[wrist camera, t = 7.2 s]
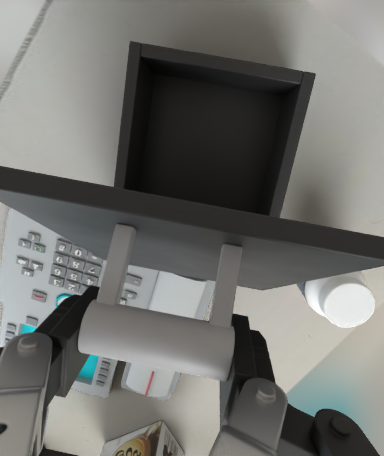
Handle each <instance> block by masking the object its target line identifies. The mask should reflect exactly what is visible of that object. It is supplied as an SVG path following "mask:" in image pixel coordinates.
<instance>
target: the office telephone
mask: <svg viewBox="0 0 384 456" xmlns="http://www.w3.org/2000/svg"><path fill="white" fill-rule="evenodd" d="M105 265H106V260H103V259H101V258H100V257H98V256H96V255H94V254H92V253H91V252H89V251H87V250H85V249H84V248H82V247H80V246H78V245H76V244H75V243H73V242H71V241H69V240H68V239H66V238H64V237H62V236H60V235H59V234H57V233H55V232H53V231H52V230H50V229H48V228H46V227H44V226H43V225H41V224H39V223H37V222H36V221H34V220H32V219H30V218H28V217H27V216H25V215H23V214H21V213H20V212H18V211H16V210H14V209H12V208H10V209H9V211H8V215H7V221H6V229H5V236H4V244H3V251H2V259H1V266H0V302H1V303H2V304H3V312H2V320H1V328H0V347H4V346H5V344H6V343H7V342H8V341H9V340H10V339H12V338H13V337H15V336H17V335H20V334H23V333H29V332H34V331H35V329H36V328H37V327H38V326H39V325H40V324H41V323H42V322H43V321H44V320H45V319H46V318H47V317H48V316H49V315H50V314H52V312H53V311H54V309H55V308H57V306H58V305H59V304H60V303H61V302H62V301H63V300H64V299H66V298H68V297H70V296H72V295H74V294H77V295H82V294H83V293H84V292H85V291H86V289H87V288H88V287H89V286H90V285H93V286H98V287H100V285H101V281H102V277H103V273H104V269H105ZM215 284H216V281H211V280H205V279H200V278H195V277H190V276H185V275H179V274H174V273H169V272H164V271H158V270H153V269H148V268H143V267H138V266H132V265H129V266H128V270H127V274H126V278H125V283H124V287H123V291H122V295H121V300H120V304H122V305H127V306H132V307H138V308H143V309H148V310H153V311H158V312H163V313H168V314H173V315H179V316H184V317H189V318H194V319H199V320H203V319H204V316H205V313H206V311H207V308H208V306H209V303H210V301H211V298H212V296H213V293H214V290H215ZM117 363H118V360H115V359H110V358H105V357H100V356H95V355H90V356H89V358H88V359H87V361H86V363H85V365H84V366H83V368H82V370H81V371H80V373H79V375H78V376H77V378H76V380H75V382H74V383H73V385H72V387H71V388H70V389H73V390H76V391H80V392H83V393H86V394H90V395H94V396H98V397H102V398H108V397H109V394H110V392H111V389H112V387H111V386H112V381H113V377H114V374H115V370H116V367H117ZM180 375H181V373H180V372H175V371H170V370H165V369H160V368H155V367H150V366H145V365H140V364H135V363H130V362H126V366H125V370H124V373H123V377H122V381H121V387H122V388H124V389H127V390H130V391H132V392H135V393H139V394H142V395H145V397H146V396H148V397H151V398H155V399H158V400H162V401H166V400H168V399H169V398H170V397H171V395H172V393H173V391H174V389H175V387H176V384H177V382H178V380H179V377H180Z"/></svg>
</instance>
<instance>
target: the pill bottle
mask: <svg viewBox="0 0 384 456" xmlns="http://www.w3.org/2000/svg"><path fill="white" fill-rule="evenodd" d="M297 286H298V287H299V289H300V291H301V292H302V294H303V296H304V297H305V299H306V301H307V302H308V304H309V305H310V306H311V308H312V309H313V310H314V311H316V312H317V313H319V314H320V315H323V316H325V317H327V319H328V320H329V321H330V322H332V323H333V324H335V325H337V326H340V327H345V328H350V327H355V326H358V325H360V324H362V323H364V322H365V321H367V320H368V319H369V318H370V316H371V315H372V313H373V311H374V308H375V298H374V296H373V293H372V292H371V291H370V289H369V288H368V287H367V283H366V280H365V278H364V276H363V274H362V273H361V272H360V271H356V272H351V273H346V274H341V275H336V276H331V277H326V278H321V279H316V280H311V281H306V282H302V283H297Z"/></svg>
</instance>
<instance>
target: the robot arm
mask: <svg viewBox="0 0 384 456" xmlns="http://www.w3.org/2000/svg"><path fill="white" fill-rule="evenodd" d="M99 289H100V287H98V286H93V285H90V286H89V287H88V288H87V289H86V291H85V292H84V293H83V294H82V295H77V294H74V295H72V296H70V297H68V298H66V299H64V300H63V301H62V302H61V303H60V304H59V305H58V306H57V308H55V309H54V311H53V312H52V314H50V315H49V316H48V317H47V318H46V319H45V320H44V321H43V322H42V323H41V324H40V325H39V326H38V327H37V328H36V329H35V331H34V332H29V333H23V334H20V335H17V336H15V337H13V338H12V339H10V340H9V341H8V342H7V343H6V344H5V346H4V347H0V456H77V455H73V454H68V453H63V452H59V451H54V450H49V449H45V448H43V443H44V437H45V430H46V424H47V417H48V410H49V403H50V402H51V400H52V399H53V397H54V395H56V396H60V397H66V395H67V393H68V392H69V390H70V388H71V387H72V385H73V383H74V382H75V380H76V378H77V376H78V375H79V373H80V371H81V370H82V368H83V366H84V365H85V363H86V361H87V359H88V358H89V356H90V354H85V353H81V352H80V351H79V350H78V335H79V330H80V326H81V322H82V319H83V317H84V314H85V312H86V310H87V308H88V306H89V304H90V303H91V302H92V301H93V300H96V299H97V297H98V293H99ZM231 326H233V327H234V331H235V344H234V354H233V360H232V366H231V370H230V374H229V377H228V379H227V380H226V381H221V380H220V432H219V434H218V436H217V438H216V440H215V443H214V445H213V447H212V449H211V451H210V453H209V456H380V455H379V454H378V453H377V451H376V450H375V448H374V447H373V445H372V444H371V443H370V441H369V440H368V438H367V437H366V436H365V434H364V433H363V431H362V430H361V429H360V427H359V426H358V425H357V424H356V423H355V422H354V421H353V420H352V419H351V418H349V417H348V416H346V415H344V414H343V413H341V412H339V411H336V410H332V409H321V410H319V411H318V412H317V413H316V415H315V417H313V416H311V415H308V414H306V413H304V412H302V411H300V410H298V409H296V408H294V407H293V406H291V405H290V404H288V400H287V397H286V395H285V393H284V391H283V390H282V389H281V388H280V387H279V386H278V385H276V383H275V378H274V374H273V370H272V365H271V361H270V358H269V352H268V348H267V344H266V340H265V339H264V337H263V336H262V335H261V333H260V332H259V331H255V330H250V327H249V321H248V317H247V316H243V315H238V314H233V313H232V320H231Z"/></svg>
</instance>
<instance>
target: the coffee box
mask: <svg viewBox="0 0 384 456" xmlns="http://www.w3.org/2000/svg"><path fill="white" fill-rule="evenodd" d="M100 456H185V454H184V452H183V451H182V449H181V448H180V446H179V444H178V443H177V441H176V440H175V438H174V437H173V435H172V434H171V432H170V431H169V429H168V427H167V426H166V425H165V423H164V422H163V421H159V422H156V423H154V424H151V425H149V426H146V427H144V428H141V429H139V430H137V431H134V432H132V433H129V434H127V435H124V436H122V437H120V438H117V439H115V440H112V441H110V442H107V443H105V444H104V446H103V449H102V452H101V454H100Z"/></svg>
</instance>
